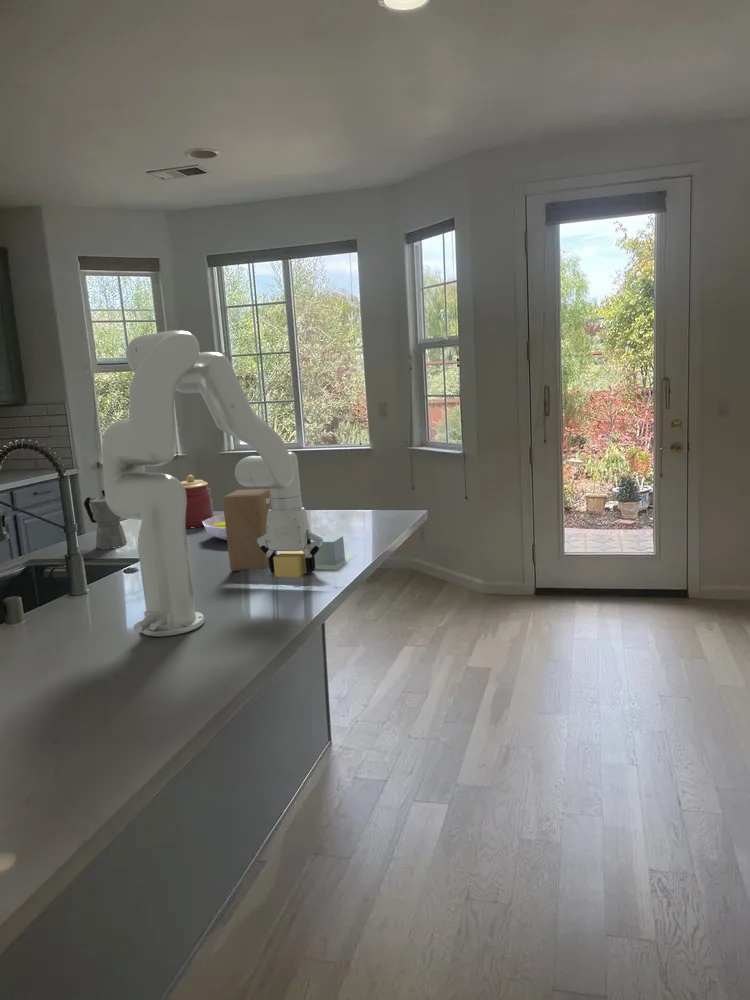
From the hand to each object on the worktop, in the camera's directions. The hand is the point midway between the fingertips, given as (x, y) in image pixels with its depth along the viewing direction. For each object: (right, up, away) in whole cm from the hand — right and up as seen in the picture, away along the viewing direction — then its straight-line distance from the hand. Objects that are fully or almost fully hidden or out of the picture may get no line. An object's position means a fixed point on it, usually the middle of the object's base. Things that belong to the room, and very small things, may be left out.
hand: (292, 571), depth 180 cm
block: (-11, 0, +13) cm, 17 cm away
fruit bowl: (-19, +6, +51) cm, 55 cm away
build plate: (+7, +1, +9) cm, 11 cm away
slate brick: (+8, +2, +9) cm, 12 cm away
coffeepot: (-64, +3, +53) cm, 83 cm away
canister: (-42, +9, +76) cm, 87 cm away
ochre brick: (0, -1, 0) cm, 1 cm away
